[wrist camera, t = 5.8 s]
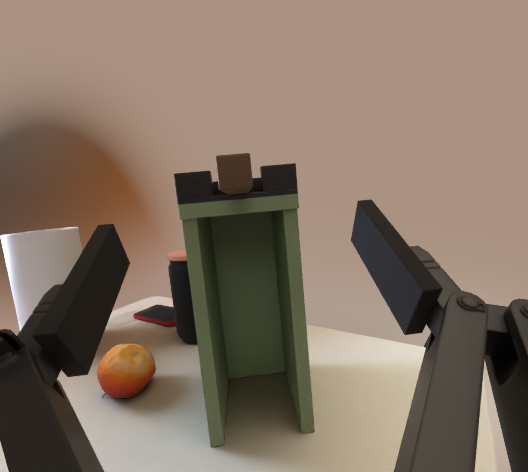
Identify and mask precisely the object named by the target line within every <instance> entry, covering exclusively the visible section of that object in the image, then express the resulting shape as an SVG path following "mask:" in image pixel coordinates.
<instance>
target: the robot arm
mask: <svg viewBox="0 0 528 472" xmlns="http://www.w3.org/2000/svg"><path fill="white" fill-rule="evenodd" d="M351 241H352V243H353V245H354V247H355V248H356V250H357V252H358V254H359V255H360V257H361V259H362V261H363V262H364V264H365V266H366V268H367V269H368V271H369V273H370V275H371V276H372V278H373V280H374V282H375V283H376V285H377V287H378V289H379V290H380V292H381V294H382V296H383V298H384V299H385V301H386V303H387V305H388V306H389V308H390V310H391V312H392V313H393V315H394V317H395V318H396V320H397V322H398V324H399V326H400V327H401V329H402V331H403V333H404V334H405V335H408V334H416V333H422V332H423V330H424V327H425V325H426V324H427V326H428V327H429V329H430V330H431V334H430V336H429V337H428V339H427V341H426V343H425V345H424V347H426V350H425V354H424V358H423V362H422V366H421V369H420V373H419V377H418V381H417V385H416V389H415V392H414V396H413V400H412V404H411V408H410V412H409V416H408V419H407V423H406V427H405V431H404V435H403V439H402V442H401V446H400V450H399V454H398V458H397V462H396V466H395V469H394V472H474V471H475V459H476V448H477V437H478V426H479V414H480V403H481V392H482V381H483V369H484V358H485V362H486V366H487V371H488V375H489V378H490V383H491V387H492V391H493V396H494V400H495V404H496V408H497V412H498V417H499V421H500V425H501V429H502V433H503V437H504V442H505V446H506V450H507V454H508V458H509V463H510V467H511V471H512V472H528V300H526V299H516V300H513V301H512V302H511V303H510V305H509V306H508V307H504V306H497V305H490V304H486V303H485V302H484V301H483V300H482V299H480V298H479V297H478V296H476V295H474V294H472V293H468V292H464V291H461V290H460V288H459V287H458V286H457V285H456V284H455V283H454V281H453V280H452V279H451V278H450V277H449V276H448V275H447V273H446V272H445V271H444V270H443V269H442V268H441V267H440V265H439V264H438V263H437V262H435V259H434V258H433V257H432V256H431V255H430V254H429V253H428V252H427V251H425V250H424V249H422V248H421V247H419V246H413V247H412V246H411V247H409V246H408V244H407V243H406V242H405V241H404V239H403V238H402V237H401V236H400V234H399V233H398V232H397V231H396V230H395V228H394V227H393V226H392V225H391V223H390V222H389V221H388V220H387V218H386V217H385V216H384V215H383V213H382V212H381V211H380V210H379V208H378V207H377V206H376V205H375V204H374V202H373V201H372V200H362V201H358V203H357V209H356V215H355V220H354V227H353V232H352V237H351ZM129 264H130V262H129V260H128V257H127V255H126V253H125V250H124V248H123V246H122V243H121V241H120V239H119V236H118V234H117V232H116V229H115V227H114V224H107V225H98V226H97V228H96V230H95V231H94V233H93V235H92V236H91V238H90V240H89V241H88V243H87V245H86V246H85V248H84V250H83V251H82V253H81V255H80V256H79V258H78V260H77V261H76V263H75V265H74V266H73V268H72V270H71V271H70V273H69V275H68V276H67V278H66V280H65V281H64V283H63V284H57V285H54V286H53V287H51V288H50V289H49V290H48V291H47V292H46V293H45V294H44V295H43V296H42V298H41V299H40V301H39V303H38V306H36V307H35V309H34V310H33V312H32V313H33V314H31V315H30V317H29V318H28V320H27V321H26V323H25V324H24V326H23V327H22V329H21V331H20V332H19V334H18V335H17V336H16V335H15V334H14V333H13V332H12V331H11V330H7V329H2V330H0V441H1V445H2V448H3V452H4V456H5V459H6V463H7V467H8V470H9V472H104V470H103V468H102V466H101V464H100V462H99V460H98V458H97V456H96V454H95V452H94V450H93V448H92V446H91V444H90V442H89V440H88V438H87V436H86V434H85V432H84V430H83V428H82V426H81V424H80V422H79V420H78V418H77V416H76V414H75V412H74V410H73V408H72V406H71V404H70V402H69V400H68V398H67V396H66V393H65V391H64V389H63V387H62V385H61V383H60V382H59V381H58V380H57V377H58V375H59V373H60V371H61V370H62V371H63V372H64V373H65V374H66V375H67V377H72V376H80V375H88V373H89V370H90V367H91V365H92V362H93V360H94V357H95V354H96V352H97V349H98V346H99V344H100V341H101V338H102V336H103V333H104V330H105V328H106V325H107V322H108V320H109V317H110V315H111V312H112V309H113V307H114V304H115V301H116V298H117V296H118V293H119V291H120V288H121V285H122V283H123V280H124V277H125V275H126V272H127V270H128V267H129Z"/></svg>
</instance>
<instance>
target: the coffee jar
mask: <svg viewBox="0 0 528 472" xmlns="http://www.w3.org/2000/svg"><path fill="white" fill-rule="evenodd" d="M167 258H168V260H169V261H170V265H169V276H170V284H171V291H172V298H173V306H174V313H175V320H176V328H177V334H178V336H179V337H180V339H182V340H183V341H184V342H186V343H189V344H198V342H197V334H196V327H195V319H194V311H193V303H192V295H191V287H190V280H189V272H188V264H187V256H186V249H182V250H177V251H173V252H171V253H168V254H167Z"/></svg>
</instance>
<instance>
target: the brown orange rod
mask: <svg viewBox="0 0 528 472" xmlns="http://www.w3.org/2000/svg"><path fill="white" fill-rule="evenodd" d="M216 165H217V174H218V183H219V190H220V191H222V192H224V193H226V194H228V195H233V194H244V193H248V192H249V191H250V190H251V188H252V187H253V182H252V172H251V162H250V154H249V153H244V154H232V155H219V156H216Z"/></svg>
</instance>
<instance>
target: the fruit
mask: <svg viewBox="0 0 528 472" xmlns="http://www.w3.org/2000/svg"><path fill="white" fill-rule="evenodd" d="M155 371H156V367H155V361H154V358H153V355H152V353H151V352H150V351H149V349H148V348H146V347H144V346H140V345H138V344H136V343H131V344H118V345H116V346H114V347H113V348H112V349H110V350H109V351H108V352H107V354H106V355H105V356H104V357H103V359H102V360H101V362H100V363H99V366H98V370H97V376H98V380H99V383H100V385H101V387H102V389H103V390H104V392H105V394H104V395H103V396H102V398H103V397H104V396H105V395H106V394H107V395H109V396H111V397H114V398H132V397H134V396H135V395H137V394H138V393H139V392H140V391H141V390H142V389H143V388H144V387H145V386H146V385H147V384H148V383H149V381H150V380H151V378H152V377H153V375H154V373H155Z"/></svg>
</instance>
